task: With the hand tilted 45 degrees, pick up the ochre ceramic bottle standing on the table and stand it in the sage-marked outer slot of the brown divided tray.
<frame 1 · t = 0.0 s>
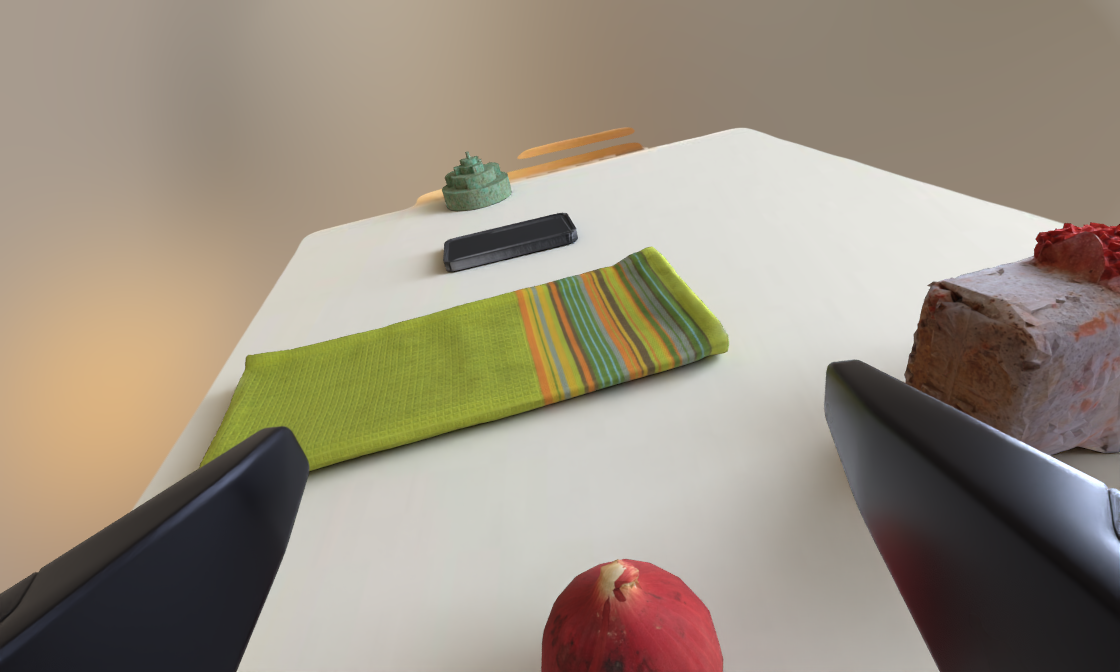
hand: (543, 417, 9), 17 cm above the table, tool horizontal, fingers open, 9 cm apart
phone: (510, 246, 64), on the table
decorative artifact: (479, 200, 84), on the table
red crystal topped stone: (1056, 414, 28), on the table
dish towel: (472, 373, 42), on the table
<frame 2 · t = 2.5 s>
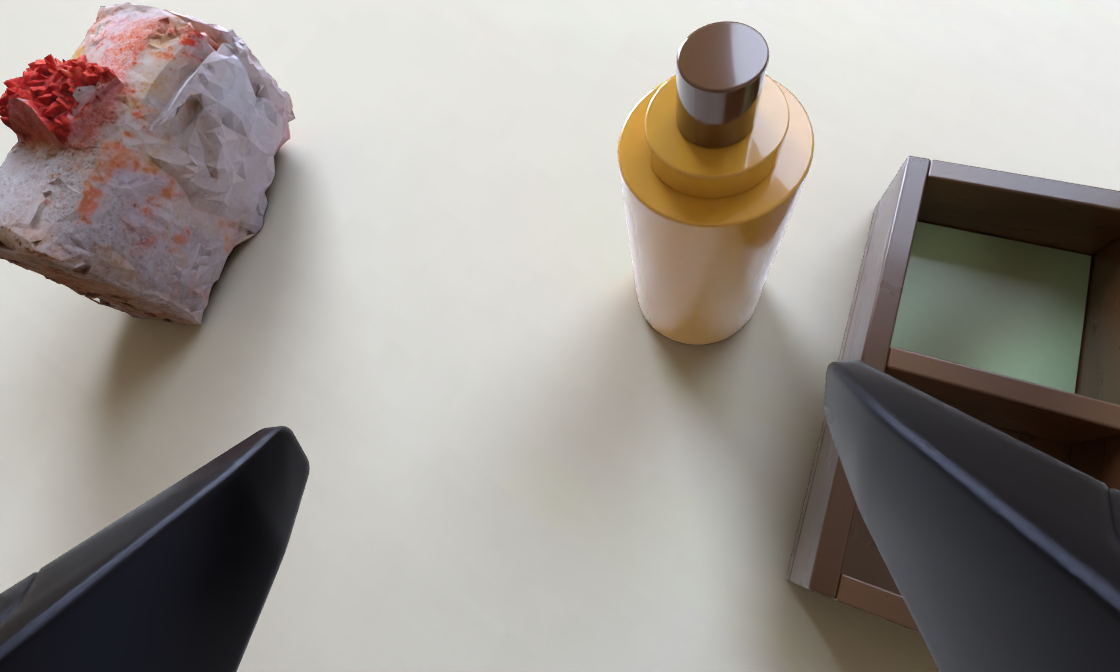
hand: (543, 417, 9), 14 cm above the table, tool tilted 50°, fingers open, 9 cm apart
red crystal topped stone: (223, 215, 31), on the table
brown divided tray: (951, 409, 21), on the table
bottle: (696, 289, 24), on the table
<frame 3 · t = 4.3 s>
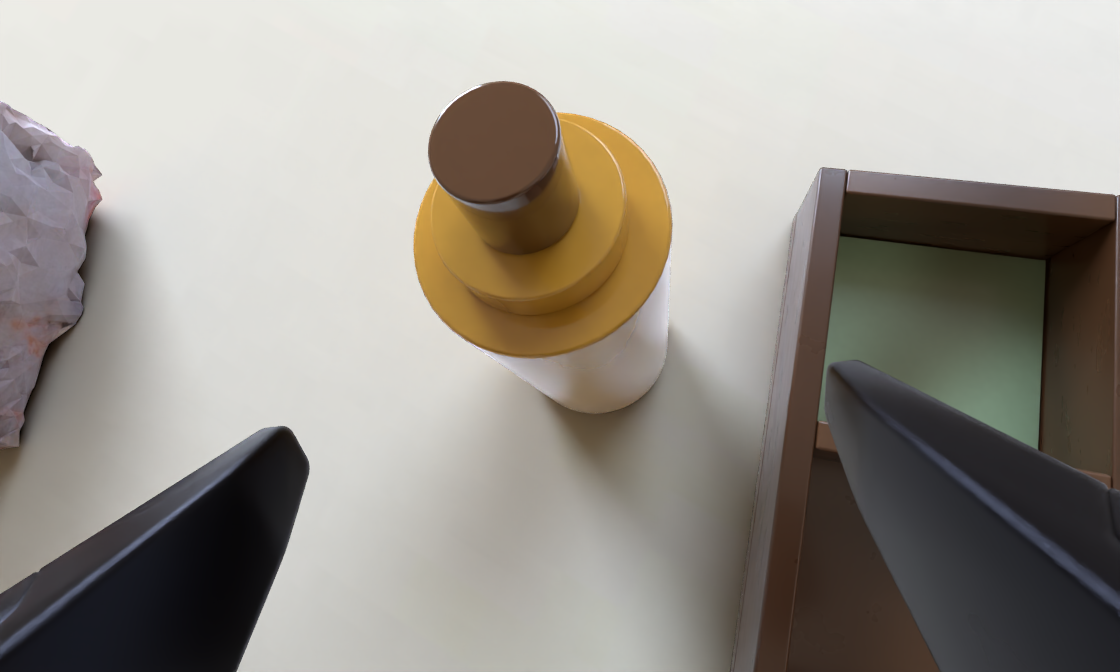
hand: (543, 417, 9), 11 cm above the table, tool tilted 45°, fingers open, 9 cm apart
red crystal topped stone: (36, 302, 26), on the table
brown divided tray: (900, 463, 18), on the table
bottle: (595, 342, 20), on the table
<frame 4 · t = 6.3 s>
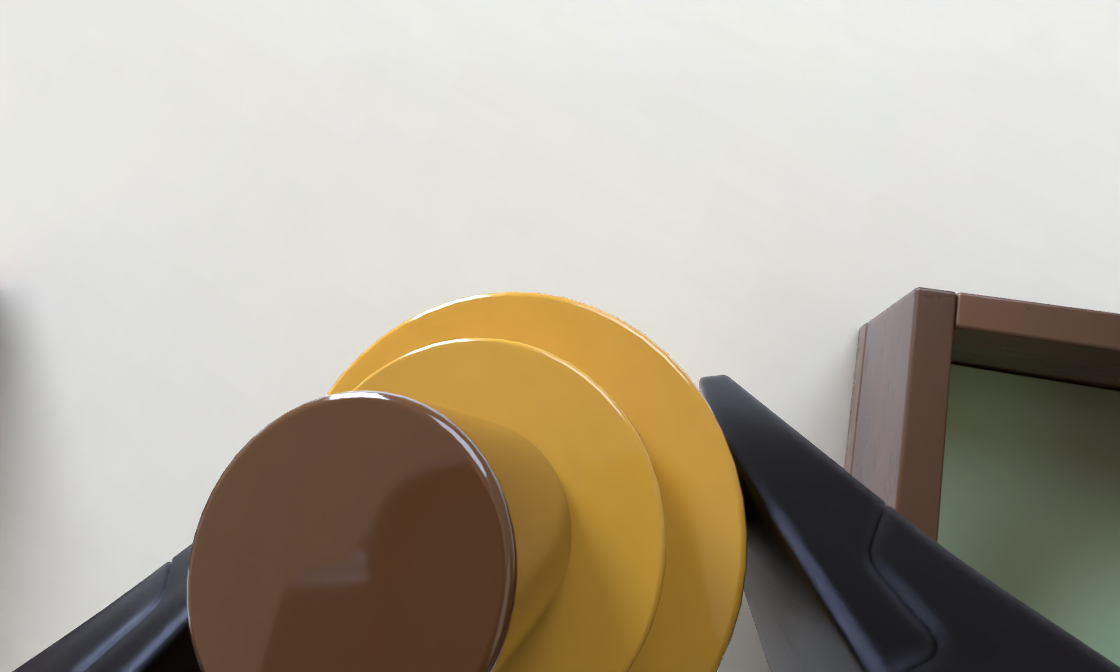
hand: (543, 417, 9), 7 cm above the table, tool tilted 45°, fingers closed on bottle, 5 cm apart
bottle: (598, 489, 16), on the table, touching gripper
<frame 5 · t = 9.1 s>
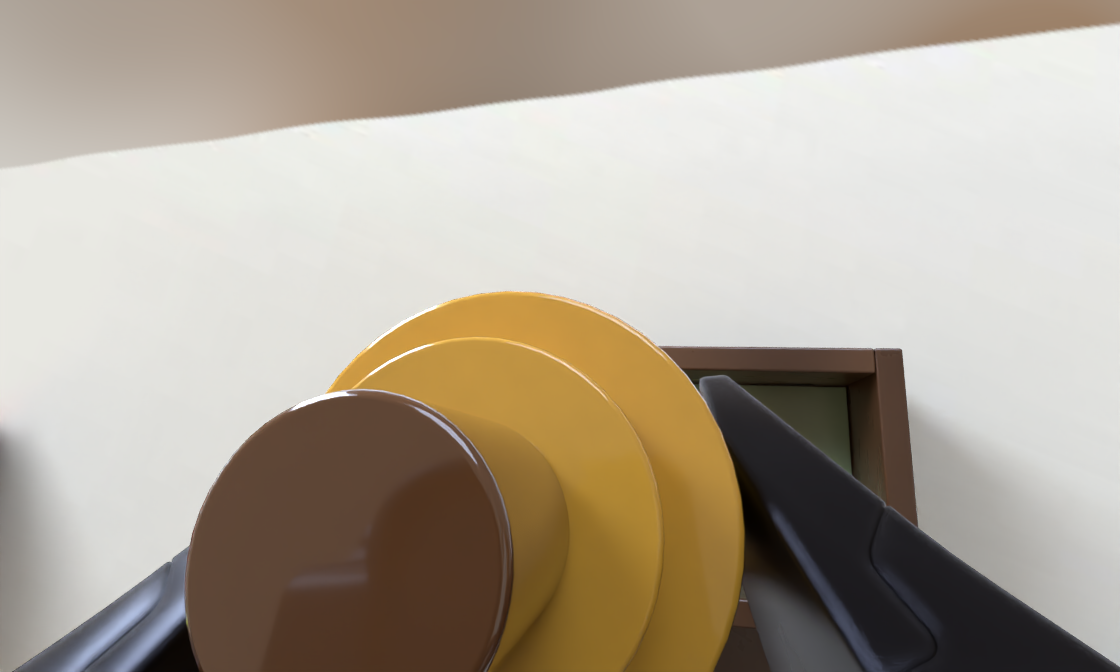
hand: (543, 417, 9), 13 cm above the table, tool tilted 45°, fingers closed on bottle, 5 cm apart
brown divided tray: (750, 589, 20), on the table
bottle: (597, 489, 16), point 6 cm above the table, touching gripper
when the fingers open (8 cm above the table, at t = 11.9 s): bottle stays where it is, resting on brown divided tray.
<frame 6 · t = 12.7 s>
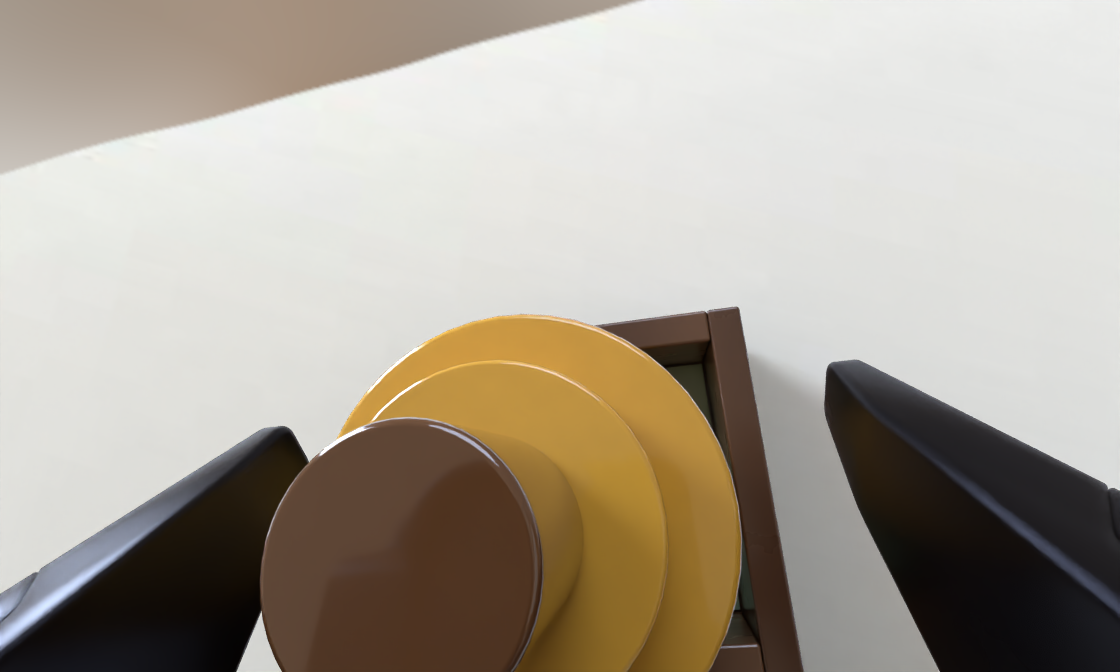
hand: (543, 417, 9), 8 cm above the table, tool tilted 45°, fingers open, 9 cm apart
brown divided tray: (619, 626, 16), on the table
bottle: (601, 493, 16), point 1 cm above the table, touching brown divided tray
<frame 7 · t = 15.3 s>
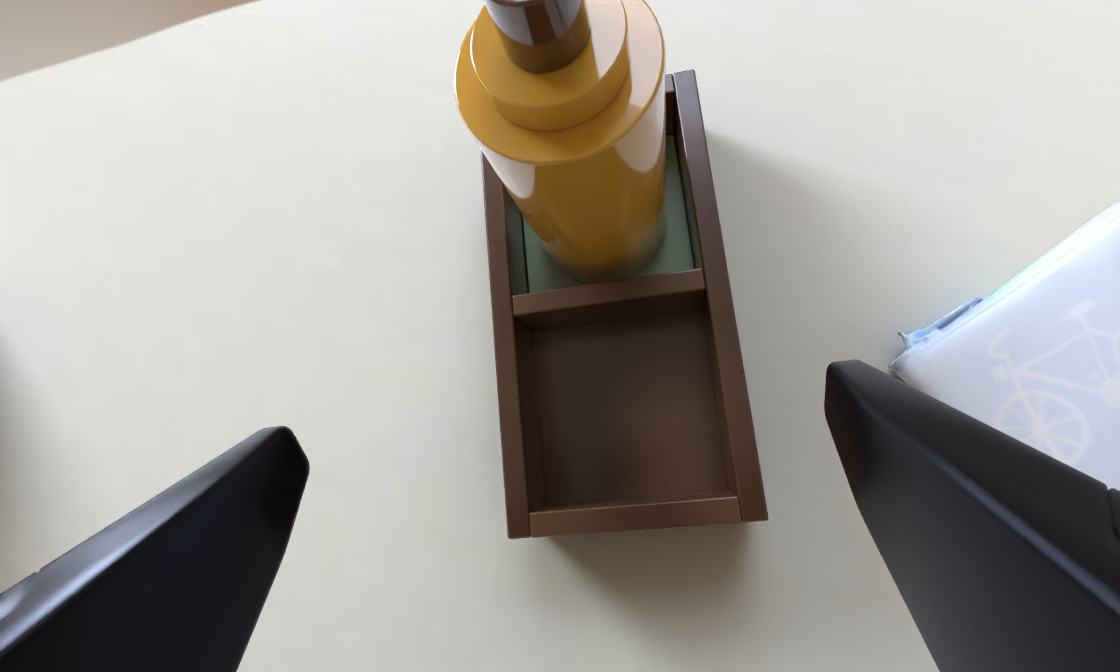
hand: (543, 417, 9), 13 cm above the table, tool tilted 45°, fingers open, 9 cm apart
brown divided tray: (615, 315, 23), on the table
bottle: (602, 223, 23), point 1 cm above the table, touching brown divided tray
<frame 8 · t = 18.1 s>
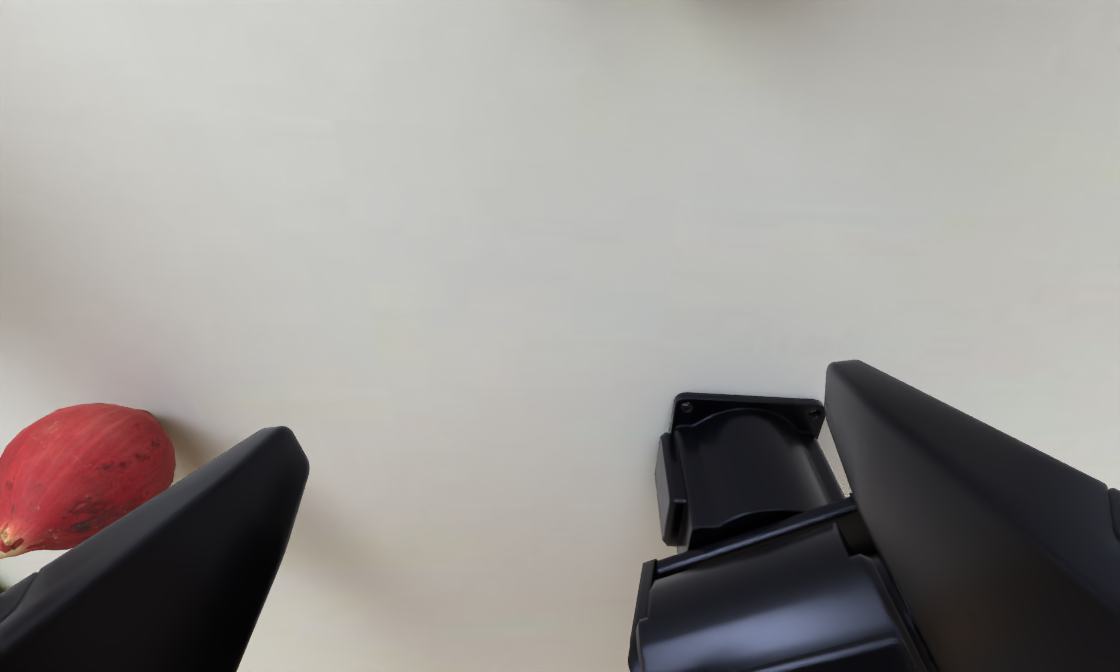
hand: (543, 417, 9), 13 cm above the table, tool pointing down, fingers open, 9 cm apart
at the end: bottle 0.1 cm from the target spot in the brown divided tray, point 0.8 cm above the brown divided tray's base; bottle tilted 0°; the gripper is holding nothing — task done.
